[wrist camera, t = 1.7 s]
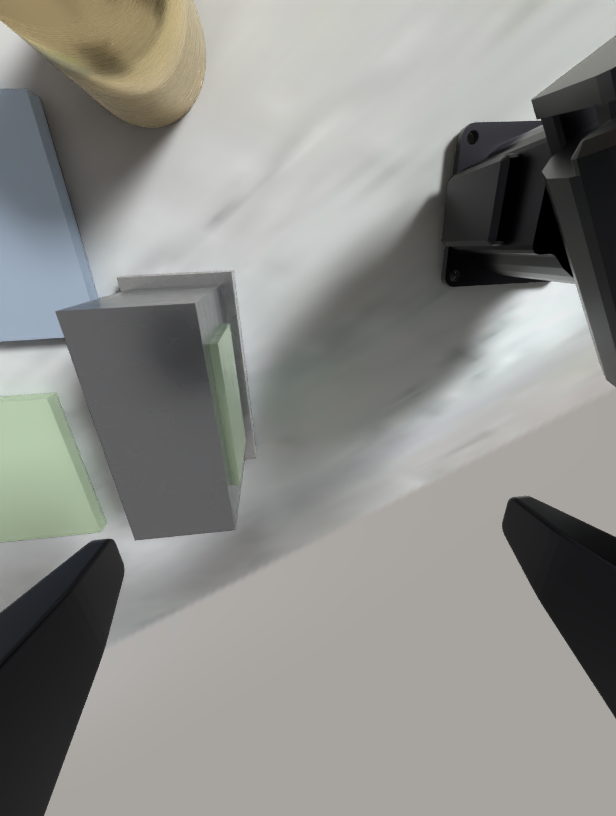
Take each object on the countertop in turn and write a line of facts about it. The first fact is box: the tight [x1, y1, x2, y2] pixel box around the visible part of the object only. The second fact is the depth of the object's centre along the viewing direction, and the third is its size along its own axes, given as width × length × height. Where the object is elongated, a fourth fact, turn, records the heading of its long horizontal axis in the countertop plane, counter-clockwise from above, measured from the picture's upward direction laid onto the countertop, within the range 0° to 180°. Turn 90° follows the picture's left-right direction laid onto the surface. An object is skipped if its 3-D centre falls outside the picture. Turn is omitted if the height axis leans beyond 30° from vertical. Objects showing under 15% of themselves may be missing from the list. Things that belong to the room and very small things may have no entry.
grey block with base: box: [55, 270, 256, 540], centre depth 15 cm, size 5×10×7 cm, turn 3°
